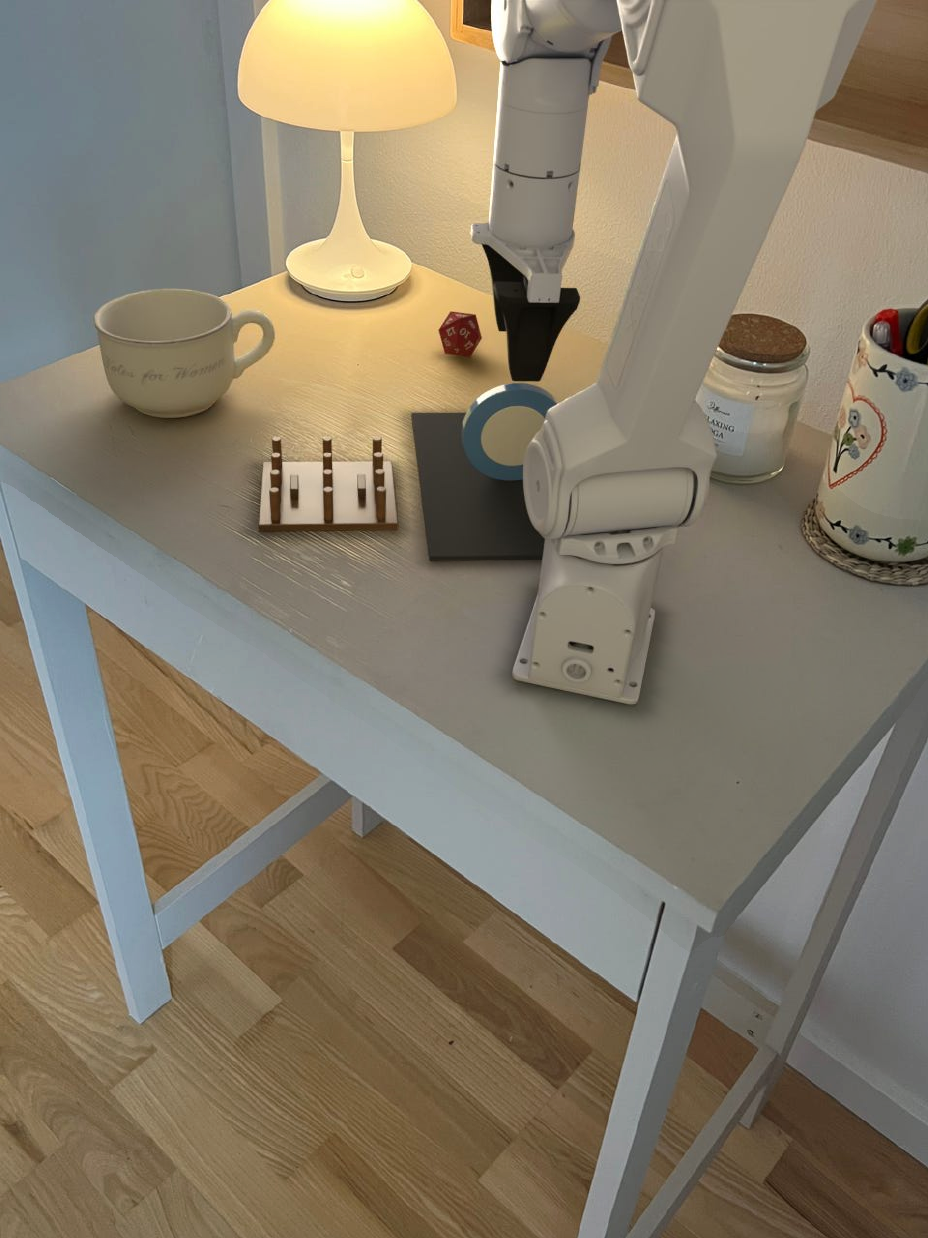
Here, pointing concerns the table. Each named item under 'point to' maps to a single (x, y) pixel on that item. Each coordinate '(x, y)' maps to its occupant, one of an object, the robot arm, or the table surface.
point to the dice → (460, 334)
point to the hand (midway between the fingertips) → (518, 353)
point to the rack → (327, 493)
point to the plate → (504, 428)
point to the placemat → (468, 499)
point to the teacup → (174, 349)
